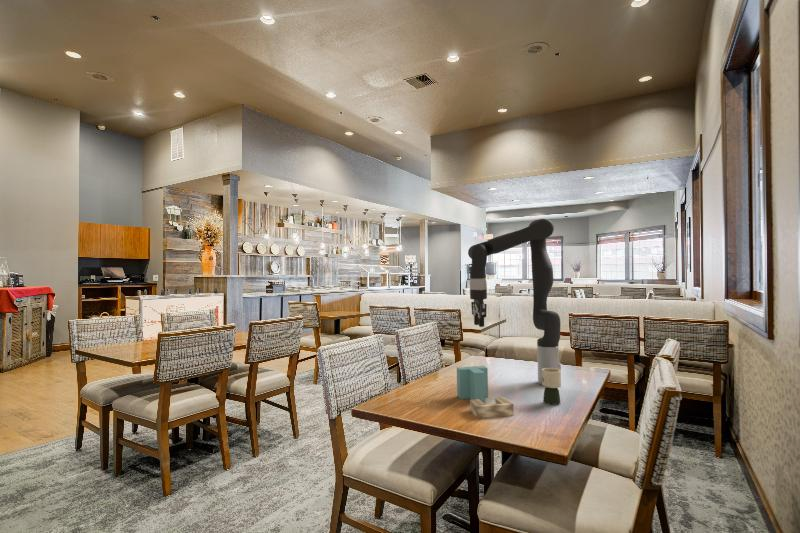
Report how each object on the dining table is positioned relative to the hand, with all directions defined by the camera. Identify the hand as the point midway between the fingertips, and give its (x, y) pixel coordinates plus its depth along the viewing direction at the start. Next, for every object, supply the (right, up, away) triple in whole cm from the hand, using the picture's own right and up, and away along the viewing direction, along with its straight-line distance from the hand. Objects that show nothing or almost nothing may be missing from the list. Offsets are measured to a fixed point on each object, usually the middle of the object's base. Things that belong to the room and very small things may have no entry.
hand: (479, 325), depth 191 cm
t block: (-5, -27, -18) cm, 33 cm away
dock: (-2, -27, -35) cm, 44 cm away
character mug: (+24, -27, -25) cm, 44 cm away
